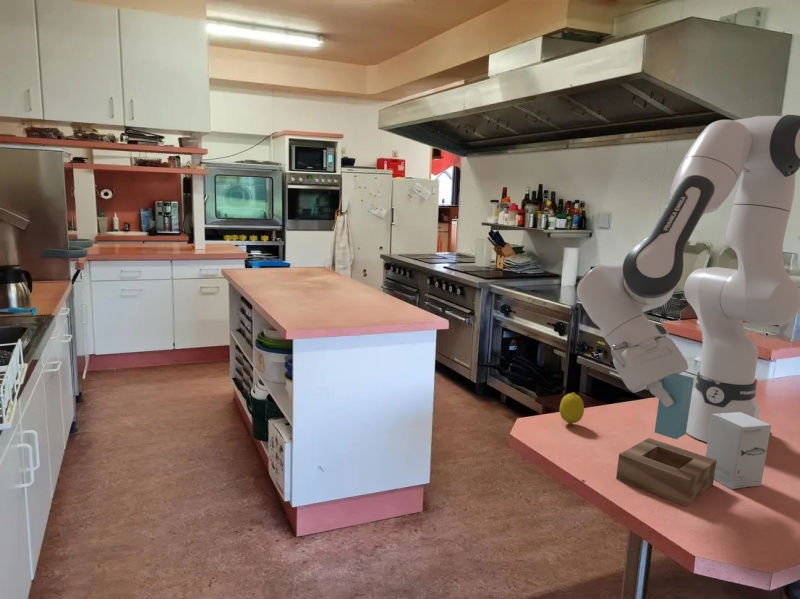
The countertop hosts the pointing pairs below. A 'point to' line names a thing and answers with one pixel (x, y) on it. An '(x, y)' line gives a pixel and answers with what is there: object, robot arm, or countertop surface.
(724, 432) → the supplement box
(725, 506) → the countertop surface
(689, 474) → the well block
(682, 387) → the blue square pillar
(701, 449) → the countertop surface
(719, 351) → the robot arm
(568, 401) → the lemon
